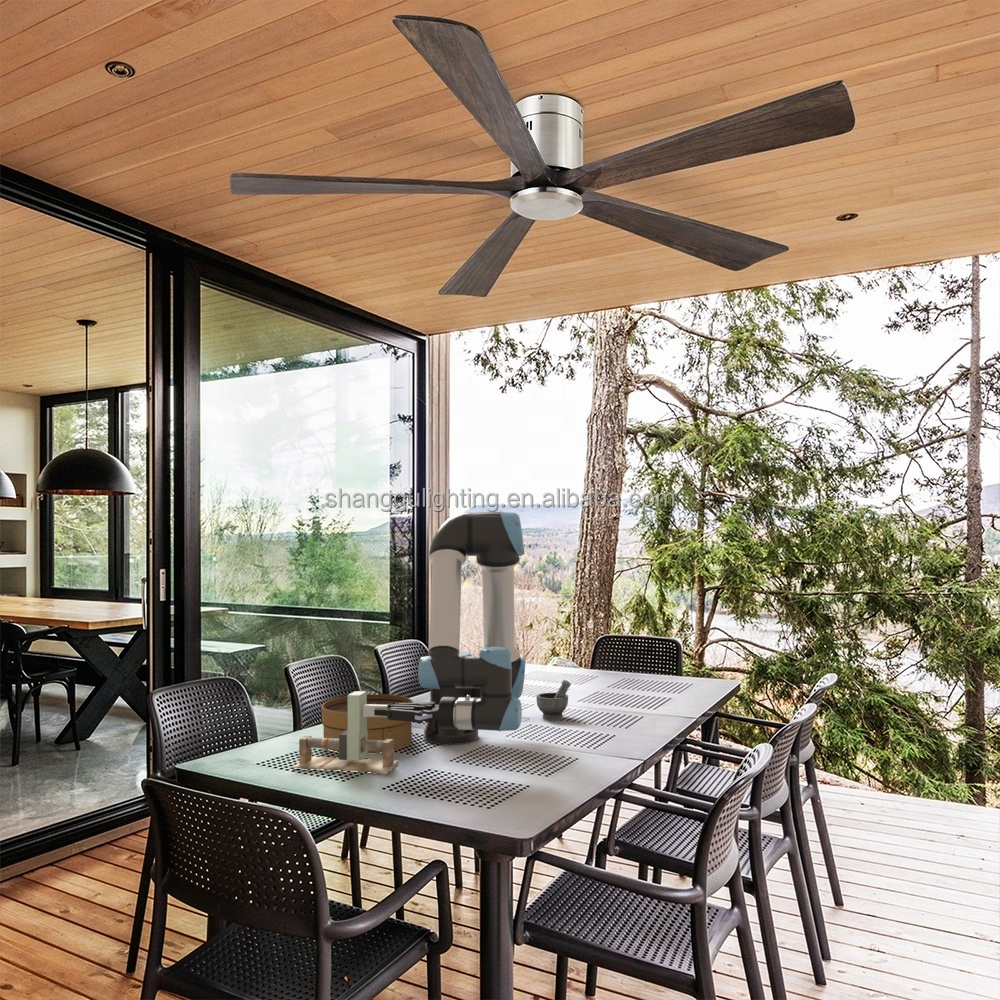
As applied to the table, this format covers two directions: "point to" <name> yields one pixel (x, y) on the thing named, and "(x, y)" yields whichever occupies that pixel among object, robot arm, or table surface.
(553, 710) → the mortar and pestle
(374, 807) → the table surface
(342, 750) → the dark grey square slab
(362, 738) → the pale green upright panel
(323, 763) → the pipe stand
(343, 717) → the steamer basket
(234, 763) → the table surface
